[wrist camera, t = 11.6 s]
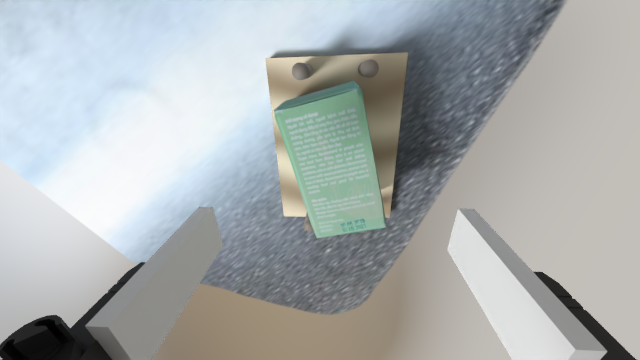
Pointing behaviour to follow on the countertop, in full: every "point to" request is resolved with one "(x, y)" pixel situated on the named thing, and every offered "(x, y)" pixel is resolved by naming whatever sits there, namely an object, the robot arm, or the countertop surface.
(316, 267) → the countertop surface
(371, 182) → the box
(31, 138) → the countertop surface
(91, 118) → the countertop surface
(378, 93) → the tray
